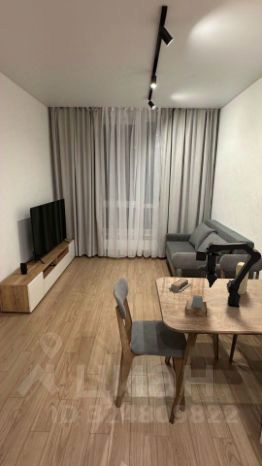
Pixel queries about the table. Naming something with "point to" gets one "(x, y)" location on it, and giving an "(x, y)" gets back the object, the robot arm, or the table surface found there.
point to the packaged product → (180, 285)
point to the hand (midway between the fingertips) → (209, 284)
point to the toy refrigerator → (244, 282)
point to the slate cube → (197, 301)
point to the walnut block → (196, 309)
